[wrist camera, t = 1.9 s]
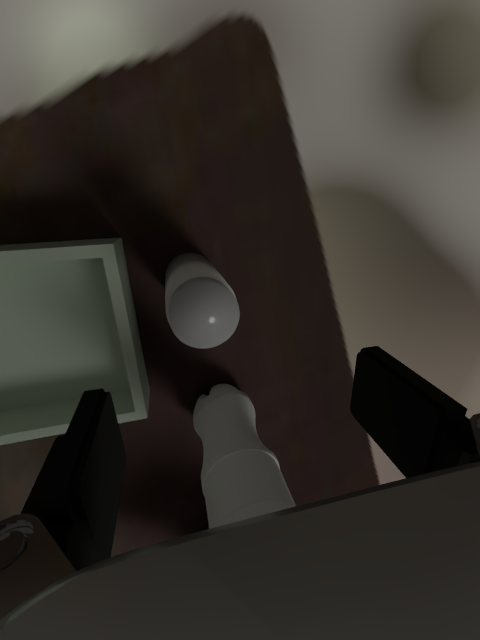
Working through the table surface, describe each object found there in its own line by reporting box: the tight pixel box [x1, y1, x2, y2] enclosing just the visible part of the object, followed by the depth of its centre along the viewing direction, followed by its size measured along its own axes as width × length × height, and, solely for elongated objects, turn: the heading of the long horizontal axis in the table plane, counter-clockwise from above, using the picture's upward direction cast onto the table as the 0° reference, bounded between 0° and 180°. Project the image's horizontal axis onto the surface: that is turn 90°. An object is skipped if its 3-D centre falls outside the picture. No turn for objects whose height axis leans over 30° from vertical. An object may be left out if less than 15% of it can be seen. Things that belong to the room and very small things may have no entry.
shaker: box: [165, 253, 240, 348], centre depth 25 cm, size 5×5×12 cm
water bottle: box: [193, 384, 295, 529], centre depth 26 cm, size 7×7×25 cm
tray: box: [0, 237, 150, 445], centre depth 27 cm, size 17×18×5 cm
